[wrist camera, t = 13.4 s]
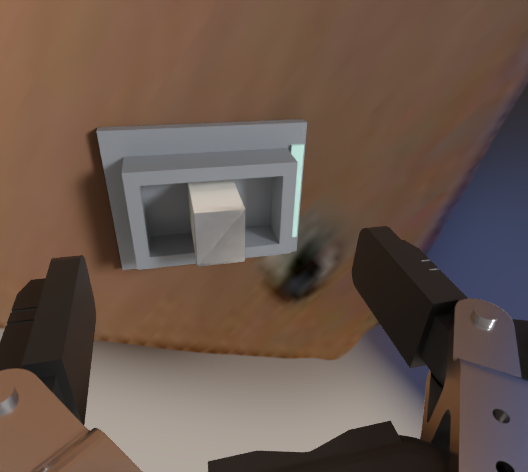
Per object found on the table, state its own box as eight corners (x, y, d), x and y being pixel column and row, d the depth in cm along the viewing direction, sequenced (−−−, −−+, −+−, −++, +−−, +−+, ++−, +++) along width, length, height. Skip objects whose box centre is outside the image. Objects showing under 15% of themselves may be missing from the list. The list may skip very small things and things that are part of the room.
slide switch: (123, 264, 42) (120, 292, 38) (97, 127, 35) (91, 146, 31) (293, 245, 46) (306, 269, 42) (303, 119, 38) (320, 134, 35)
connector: (190, 224, 40) (197, 266, 34) (187, 176, 38) (194, 213, 32) (231, 220, 41) (244, 261, 35) (230, 174, 38) (245, 209, 33)
